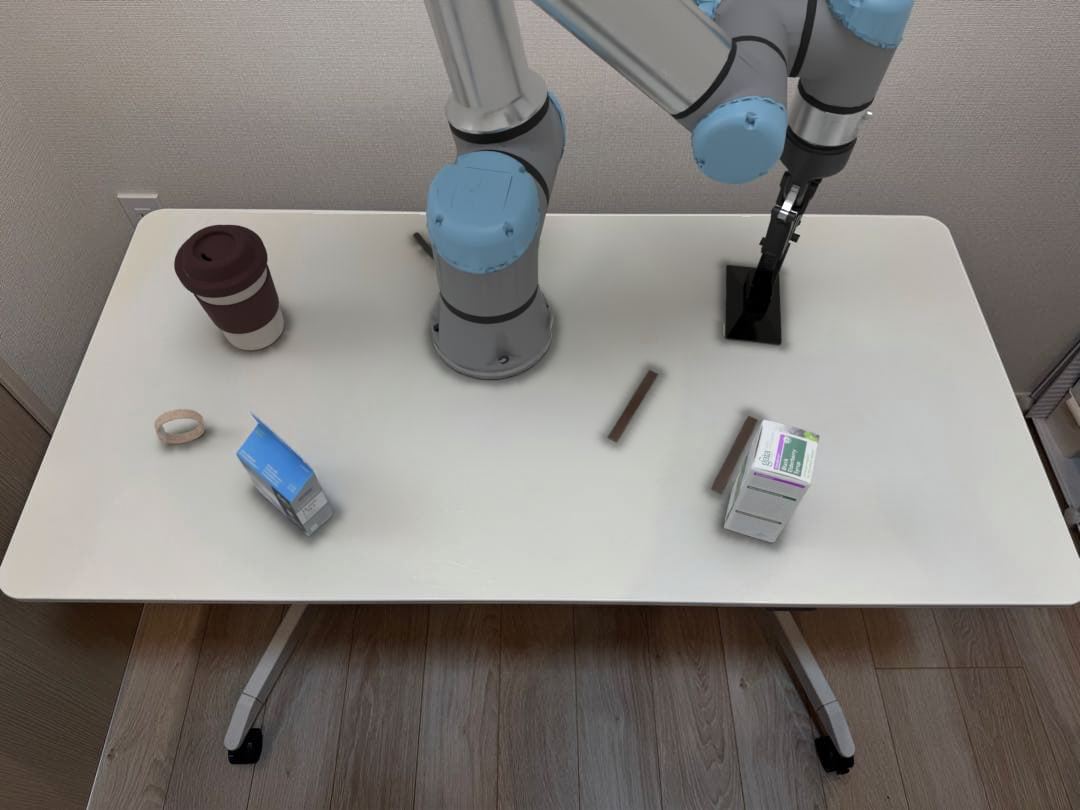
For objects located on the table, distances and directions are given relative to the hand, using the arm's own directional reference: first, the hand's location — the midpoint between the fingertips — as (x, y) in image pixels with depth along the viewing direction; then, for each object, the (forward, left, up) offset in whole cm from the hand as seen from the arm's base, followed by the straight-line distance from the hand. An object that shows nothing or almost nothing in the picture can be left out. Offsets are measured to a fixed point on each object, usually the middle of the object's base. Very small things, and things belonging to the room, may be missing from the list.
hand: (765, 278), depth 99 cm
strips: (0, -25, -2) cm, 25 cm away
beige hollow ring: (-49, -55, -2) cm, 74 cm away
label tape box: (-33, -55, -2) cm, 64 cm away
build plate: (0, -3, -2) cm, 4 cm away
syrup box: (+11, -31, -2) cm, 33 cm away
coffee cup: (-53, -39, -2) cm, 66 cm away
